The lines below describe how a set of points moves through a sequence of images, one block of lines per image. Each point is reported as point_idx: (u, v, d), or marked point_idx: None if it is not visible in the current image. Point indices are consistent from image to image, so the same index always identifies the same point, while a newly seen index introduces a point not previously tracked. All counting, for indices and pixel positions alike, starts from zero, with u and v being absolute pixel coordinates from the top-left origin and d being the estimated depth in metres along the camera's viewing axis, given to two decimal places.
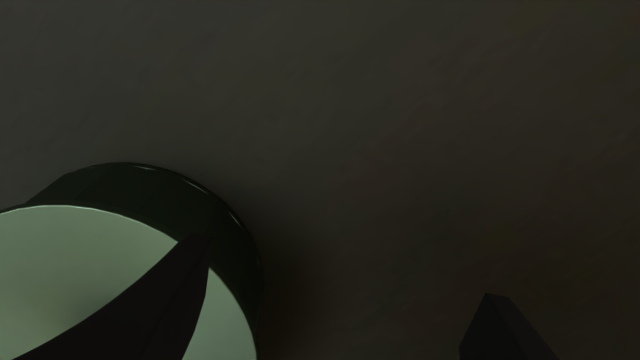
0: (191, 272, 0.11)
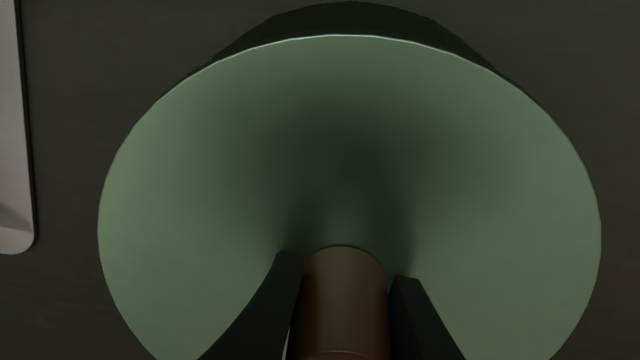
0: (297, 293, 0.11)
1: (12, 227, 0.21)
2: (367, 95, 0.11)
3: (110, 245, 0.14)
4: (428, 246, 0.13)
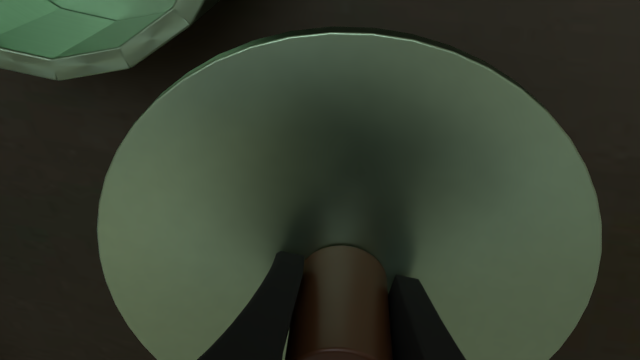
0: (297, 293, 0.11)
1: None
2: (367, 94, 0.11)
3: (110, 244, 0.14)
4: (428, 245, 0.13)
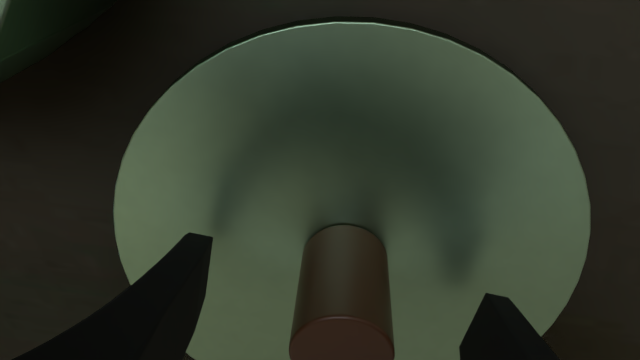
0: (191, 272, 0.11)
1: None
2: (369, 79, 0.12)
3: (125, 224, 0.15)
4: (426, 225, 0.14)
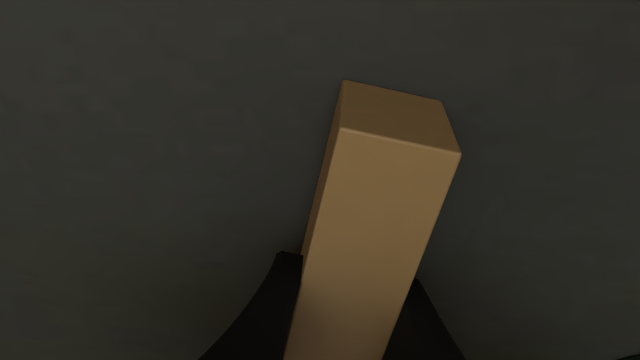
0: (297, 293, 0.11)
1: None
2: None
3: None
4: None
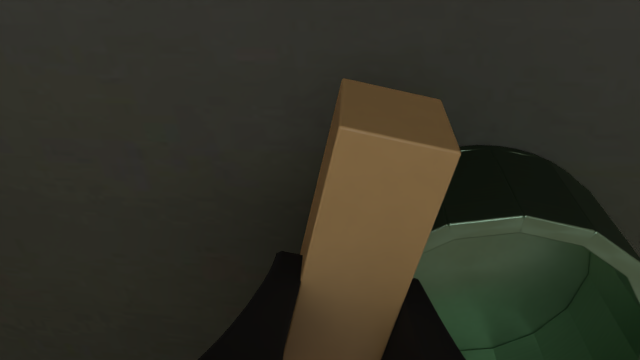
0: (297, 293, 0.11)
1: None
2: None
3: None
4: None
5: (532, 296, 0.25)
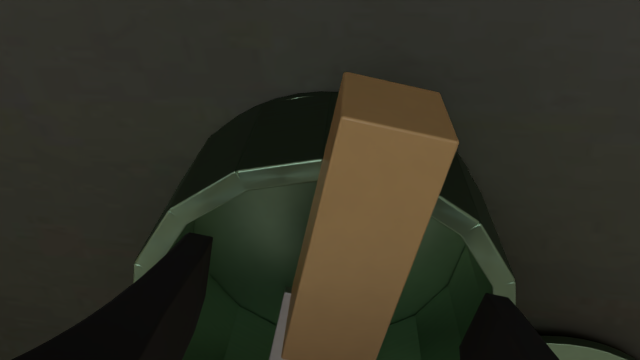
0: (191, 272, 0.11)
1: None
2: None
3: None
4: None
5: None
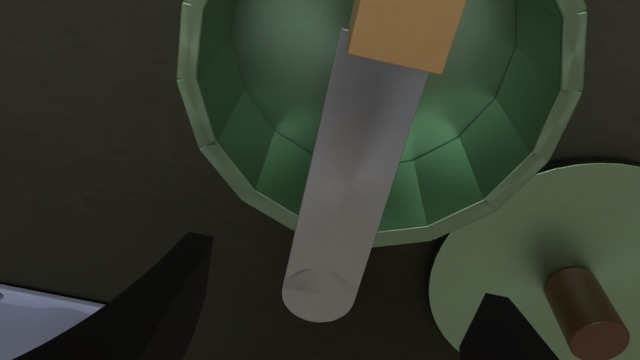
0: (191, 272, 0.11)
1: (333, 296, 0.20)
2: (610, 191, 0.22)
3: (440, 266, 0.25)
4: (625, 267, 0.24)
5: (453, 82, 0.21)
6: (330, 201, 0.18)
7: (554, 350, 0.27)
